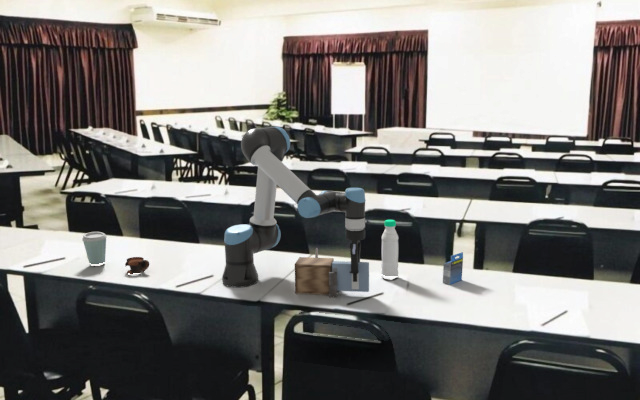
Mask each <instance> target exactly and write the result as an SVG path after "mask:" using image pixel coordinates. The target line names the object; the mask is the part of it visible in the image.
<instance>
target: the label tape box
mask: <svg viewBox="0 0 640 400" xmlns="http://www.w3.org/2000/svg"><path fill="white" fill-rule="evenodd" d="M463 263H464V252H463V251H461V252H459V253H455V254H453V255H450V261H447V262H445V263H443V269H442V284H444V285H450V286H451V285H453V284H455V283H458V282H460V281H462V279H463V266H464V265H463Z"/></svg>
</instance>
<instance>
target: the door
mask: <svg viewBox="0 0 640 400" xmlns="http://www.w3.org/2000/svg"><path fill="white" fill-rule="evenodd" d="M350 271H351V261H345V260H344V261H341V260H340V261H339V260H338V261H337V260H334V261H333V262H332V272H337V291H339V292H356V293H357V292H362V293H369V292H370V262H368V261H360V262H358V271H359V272H358V273H359V289H352V273H350Z"/></svg>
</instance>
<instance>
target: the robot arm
mask: <svg viewBox="0 0 640 400" xmlns="http://www.w3.org/2000/svg"><path fill="white" fill-rule="evenodd" d="M240 147H241V152H242V154H243V155H244V157H245V158H246V160H247V161H248V162H249V163H250V164H251V165H253V166H257V174H256V175H257V176H256V184H255V185H256V186H255V187H256V188H255V198H254V207H253V208H254V209H253V215H252V216H251V217H250V218H249V223H247V224H243V223H242V224H235V225H231V226H230V227H228V228H227V229H226V230H225V231H224V237H223V238H224V240H223V241H224V254H225V255H224V257H225V266H224V270H223V273H222V277H221V278H222V279H221V280H222V281H221V283H222V282H223V283H222V284H223V285H224V284H225V286H226V285H228V286H227V287H231V286H236V287H235V288H242V287H241V286H244V287H249V286H253V285H255V284H257V283H258V282H259V273H258V271H257V269H256V265H255V262H254V254H257V253H260V252H263V251H268V250H271V249H272V248H274V247H276V246H277V245H278V243H279V242H280V240H281V229H280V226H279V225H278V224H277V220H276V218H274V215H275V207H276V196H277V186H278V187H279V188H280V189H281V190H282V191H283V192H284V193H285V194H286V195H287V196H288V197H289V198H291V200H292V201H293V202H295V204H297V205H296V206H297V207H296V208H297V212H298V214H299V215H300V216H301V218H305V219H310V218H316V217H318V216H321V215H325V214H329V213H332V212H341V213H345V216H344V217H345V219H344V220H345V221H344V223H345V224H344V225H345V226H344V227H345V239H346V240H347V241H350V244H349V249H350V250H349V251H350V262H351V271H350V273H352V289H359V273H358V272H359V271H358V262H361V247H362V242H361V241H362V240H365V238H366V229H365V228H366V223H367V222H368V221H367V219H366V193H365V190H364V189H363V188H361V187H347V188H346V189H345V191H344V192H342V191H334V190H323V191H321V192H320V193H318V194H317V193H315V192H314V191H312V189H311V188H310V187H309V186H308V185H307V184H305V182H303V181H302V180H301V179H300V178H299V177H298V176H297V175H296V174H295V173H294V172H293V171H291V169H290V168H288V167H287V166H286V165H285V164H284V163H283V162H284V155H286V153H287V152H288V151H289V150H290V147H291V138H290V136H289V134H288V132H287V131H286V130H285V129H284V128H282V127H279V126H266V127H258V128H257V127H256V128H255V127H254V128H251V129H248V130H247V131H246V132H245V133H244V135H242V137H241V141H240Z"/></svg>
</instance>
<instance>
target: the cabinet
mask: <svg viewBox="0 0 640 400" xmlns="http://www.w3.org/2000/svg"><path fill="white" fill-rule="evenodd" d="M333 261H335V260H334V258H333V257H318V258H315V257H309V256H308V257H305V256H304V257H300V256H299V257H298V259H297V260H296V262H295V263H294V289H295V291H294V292H295V294H299V295H300V294H301V295H302V294H305V295H325V296H327V295H328V298H335V299H337V298H338V294H339V293H340V291H337V272H332V262H333Z"/></svg>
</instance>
